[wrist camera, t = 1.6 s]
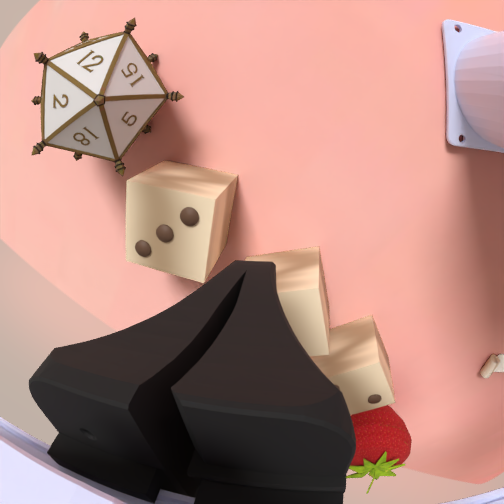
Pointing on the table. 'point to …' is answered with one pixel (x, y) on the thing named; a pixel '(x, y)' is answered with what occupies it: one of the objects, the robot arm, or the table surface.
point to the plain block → (302, 295)
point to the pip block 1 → (178, 218)
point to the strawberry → (379, 443)
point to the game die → (99, 96)
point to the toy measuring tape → (493, 365)
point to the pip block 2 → (358, 365)
